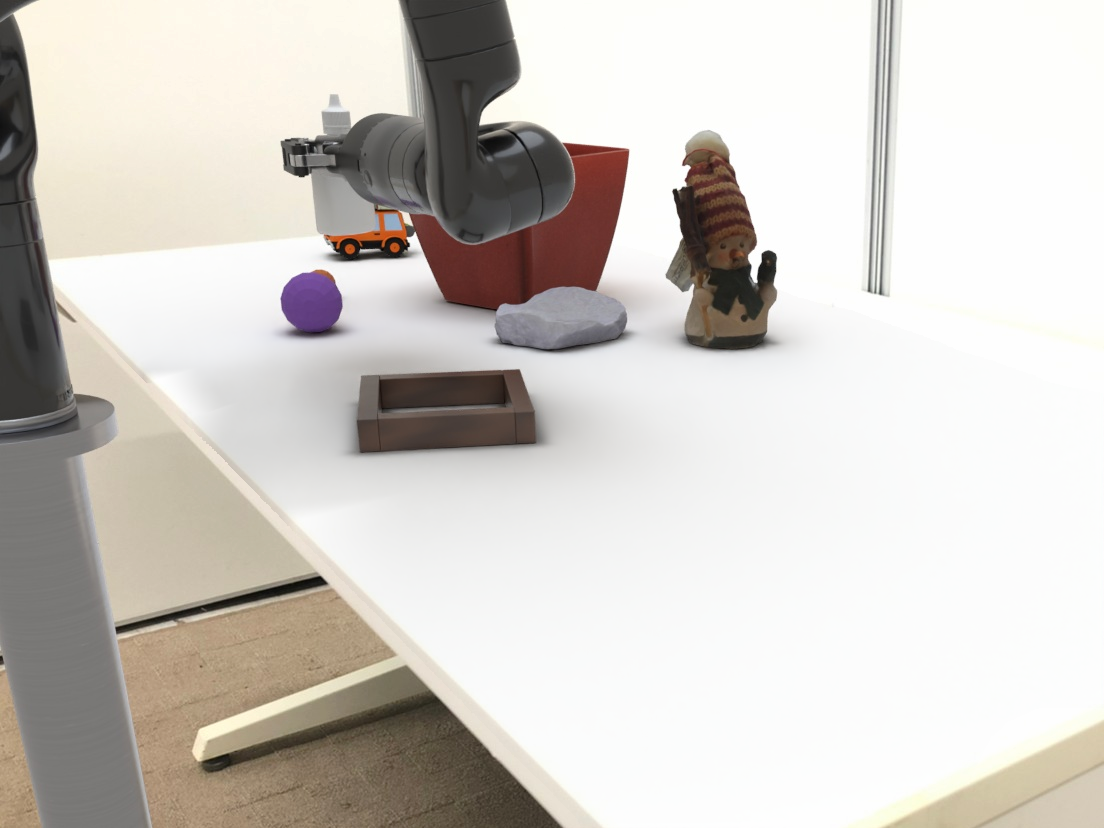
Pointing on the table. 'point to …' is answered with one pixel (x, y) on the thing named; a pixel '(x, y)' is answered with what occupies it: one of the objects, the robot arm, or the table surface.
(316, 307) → the purple maraca
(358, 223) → the eye dropper bottle
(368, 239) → the toy car
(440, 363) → the table surface
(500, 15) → the robot arm
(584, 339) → the stone block
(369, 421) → the brown wooden square frame
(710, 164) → the figurine
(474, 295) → the flower pot
